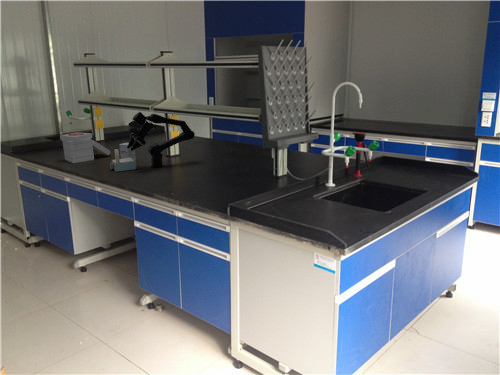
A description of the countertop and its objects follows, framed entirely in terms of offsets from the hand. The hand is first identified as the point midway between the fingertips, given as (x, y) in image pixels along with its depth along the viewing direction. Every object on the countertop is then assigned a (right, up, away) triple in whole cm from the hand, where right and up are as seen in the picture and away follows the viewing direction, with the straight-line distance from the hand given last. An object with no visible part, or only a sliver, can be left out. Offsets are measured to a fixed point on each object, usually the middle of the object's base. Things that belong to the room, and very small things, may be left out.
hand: (129, 149), depth 270 cm
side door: (-2, -13, +2) cm, 13 cm away
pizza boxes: (-41, -3, +39) cm, 57 cm away
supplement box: (-8, -7, +27) cm, 28 cm away
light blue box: (-5, -12, +8) cm, 15 cm away
